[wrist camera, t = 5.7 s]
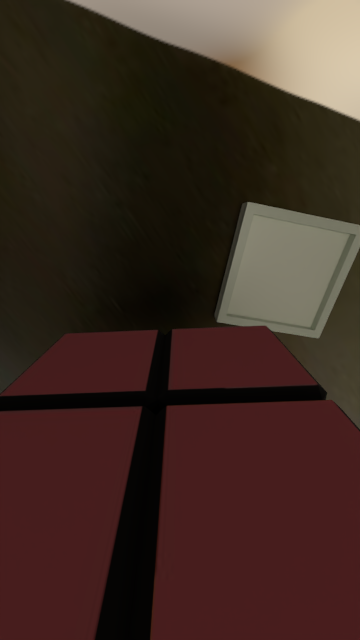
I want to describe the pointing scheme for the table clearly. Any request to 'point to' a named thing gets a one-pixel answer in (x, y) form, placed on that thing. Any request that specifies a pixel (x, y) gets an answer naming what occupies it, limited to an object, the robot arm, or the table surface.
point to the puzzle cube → (177, 492)
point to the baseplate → (285, 270)
